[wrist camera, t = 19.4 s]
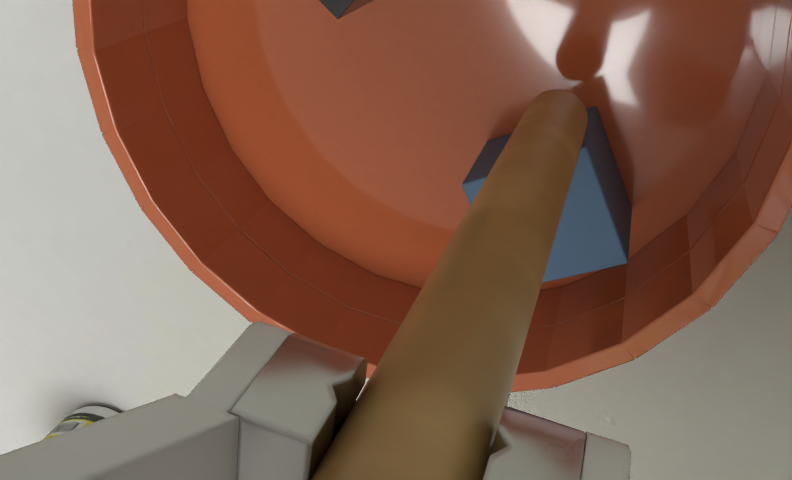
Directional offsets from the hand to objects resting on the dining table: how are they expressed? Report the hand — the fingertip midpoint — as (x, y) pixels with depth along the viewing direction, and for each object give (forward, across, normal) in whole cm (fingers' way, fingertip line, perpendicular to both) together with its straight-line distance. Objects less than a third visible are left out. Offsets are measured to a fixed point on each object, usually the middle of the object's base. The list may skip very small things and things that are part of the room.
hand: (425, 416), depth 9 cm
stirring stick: (+14, 0, +1) cm, 14 cm away
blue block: (+18, 0, +4) cm, 18 cm away
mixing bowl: (+18, +4, 0) cm, 19 cm away
